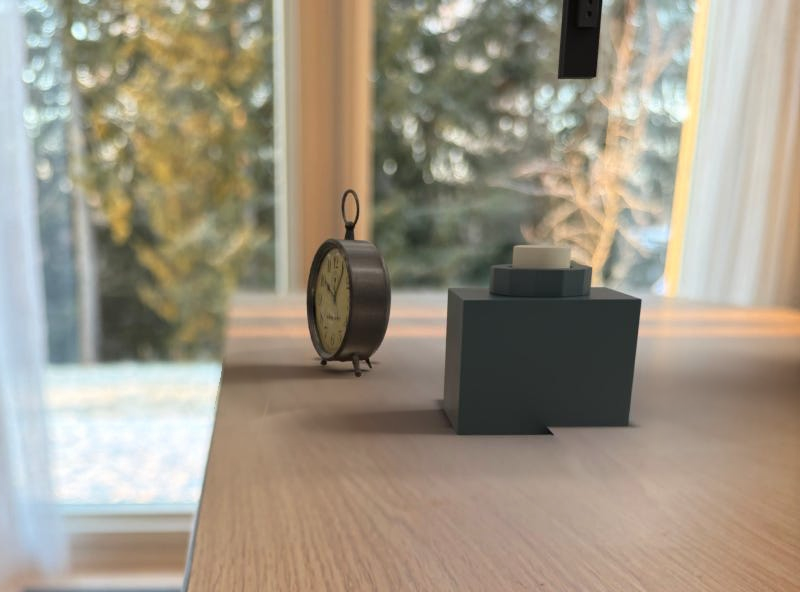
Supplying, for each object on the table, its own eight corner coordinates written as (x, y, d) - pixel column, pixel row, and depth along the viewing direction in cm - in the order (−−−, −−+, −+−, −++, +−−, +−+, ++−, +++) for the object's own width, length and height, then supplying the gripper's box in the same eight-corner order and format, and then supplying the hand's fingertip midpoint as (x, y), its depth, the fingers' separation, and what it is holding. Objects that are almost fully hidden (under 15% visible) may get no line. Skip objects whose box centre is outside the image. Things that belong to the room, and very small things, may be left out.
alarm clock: (303, 365, 106) (301, 189, 100) (353, 362, 108) (354, 189, 101) (346, 381, 97) (347, 188, 90) (399, 377, 98) (404, 188, 92)
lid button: (562, 270, 77) (564, 244, 76) (574, 274, 73) (577, 247, 72) (507, 270, 77) (509, 244, 76) (517, 274, 73) (518, 247, 72)
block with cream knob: (594, 408, 84) (608, 261, 79) (627, 435, 74) (645, 270, 70) (443, 409, 84) (448, 262, 79) (457, 436, 74) (464, 271, 70)
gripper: (530, -256, 82) (511, 86, 91) (581, -335, 70) (553, 68, 79) (625, -254, 82) (596, 86, 91) (692, -333, 70) (651, 68, 79)
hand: (576, 77), depth 85 cm, fingers closed
